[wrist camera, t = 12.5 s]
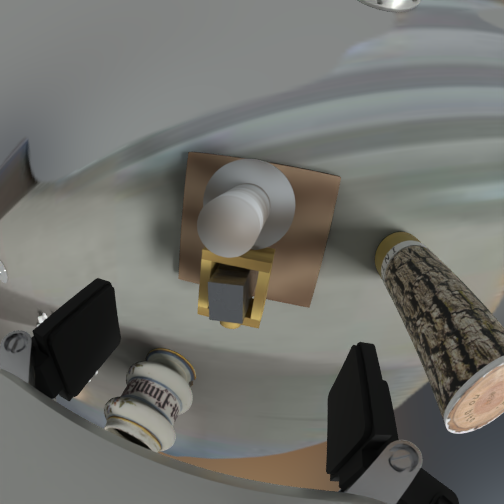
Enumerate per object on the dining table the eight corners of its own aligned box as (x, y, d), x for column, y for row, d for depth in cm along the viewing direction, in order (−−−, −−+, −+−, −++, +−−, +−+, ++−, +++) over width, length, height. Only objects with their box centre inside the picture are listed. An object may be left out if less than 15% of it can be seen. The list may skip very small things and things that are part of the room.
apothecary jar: (195, 399, 50) (163, 473, 33) (140, 374, 50) (96, 440, 34) (208, 360, 45) (169, 446, 28) (144, 332, 46) (87, 404, 29)
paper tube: (419, 226, 32) (543, 343, 9) (420, 274, 34) (510, 414, 11) (371, 234, 34) (461, 377, 10) (374, 283, 36) (434, 444, 13)
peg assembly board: (193, 147, 34) (122, 152, 19) (340, 172, 32) (369, 190, 17) (182, 275, 40) (126, 339, 26) (308, 303, 38) (307, 386, 24)
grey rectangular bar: (235, 242, 35) (207, 281, 25) (261, 244, 35) (243, 285, 25) (234, 272, 37) (209, 319, 27) (259, 275, 36) (242, 324, 26)
